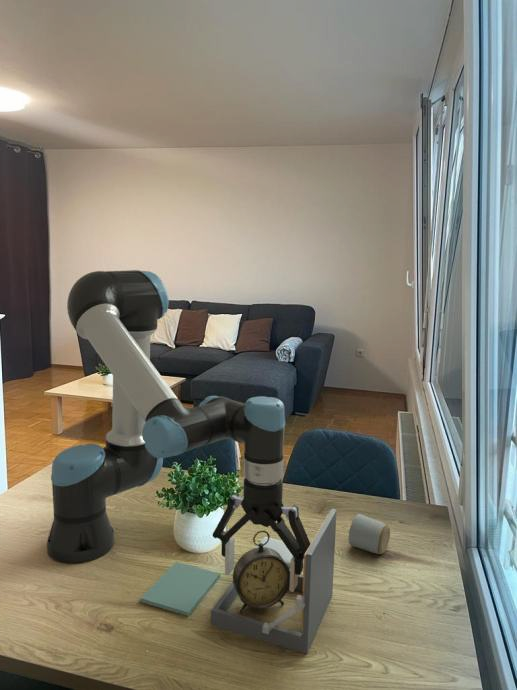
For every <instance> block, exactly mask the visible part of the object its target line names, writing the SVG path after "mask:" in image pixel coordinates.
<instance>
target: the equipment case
mask: <svg viewBox="0 0 517 690" xmlns="http://www.w3.org/2000/svg"><path fill="white" fill-rule="evenodd" d="M337 510H338V509H335V508H331V509H330V511H329V513H328V514H327V515H326V517H325V518H324V520H323V522H322V524H321V526H320V527H319V529H318V531H317V532H316V534H315V535H314V537H313V539H312V541H311V542H310V546H309V548H308V549H307V551H306V553H305V555H304V567H303V570H302V573H301V574H300V575H298V584H297V586H296V588H295V590H298V591H302V594H297V596H296V598H295V605H293V606H292V607H290V608H289V609H288V610H286V611H285V612H284V613H282V614H281V615H279V616H278V617H276V618H275V619H274V620H273V621H271V622H265V621H262V620H259V619H255V618H251V617H247V616H246V615H245V616H244V615H240V614H238V613H233V612H230V611H227V610H228V609H229V608H230V606H231V605H232V604H233V603H234V601H235V599H236V598H237V597H238V593H237V591H236V589H235V586H234V583H233V581H232V582H231V583H230V584H229V585H228V587H227V588H226V590H225V591H224V592H223V594H222V595H221V597H219V599H218V601H217V602H216V603H215V604H214V606H213V607H212V608H211V610H210V626H213V627H217V628H219V629H224V630H226V631H230V632H232V633H236V634H240V635H242V636H247V637H249V638H254V639H255V640H260V641H263V642H266V643H269V644H273V645H276V646H278V647H283V648H285V649H286V648H287V649H289V650H293V651H297V652H300V653H303V654H306V655H308V654H309V651H310V649H311V647H312V644H313V642H314V640H315V636H317V635H316V634H317V633H318V630H319V627H320V625H321V624H322V620H323V619H324V616H325V613H326V611H327V609H328V607H329V604H330V602H331V599H332V597H333V594H334V593H333V590H334V569H335V548H336V532H337V531H336V530H337V514H338V513H337V512H338V511H337ZM289 588H290V586H289ZM298 611H300V612H301V619H300V620H301V623H300V625H301V627H300V628H302V632H299V631H296V630H292V629H289V628H286V627H283V626H279V625H280V624H282V623H283V622H284V621H286V620H287V619H289V618H290V617H292V616H293V615H294V614H295V613H297V612H298Z"/></svg>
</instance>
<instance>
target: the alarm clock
mask: <svg viewBox="0 0 517 690" xmlns="http://www.w3.org/2000/svg"><path fill="white" fill-rule="evenodd" d="M260 533H261V534H262V533H265V534H266V535H267V537H268V540H267V542H266V543H264V544H262V543H260V542H259V543H260V544H259V543H258V544H259V545H258V544H257V543H256V541H255V540H256V537H257V535H259V534H260ZM269 538H271V537H270V533H269V532H268V531H266V530H259V531H257V532H256V533H255V534H254V536H253V537H252V540H253V541H252V542H253V544H255V546H259V547H258V548H256V547H255V548H252V549H249V550H248V551H246V552H245V553H244V554H242V555H241V556H240V557H239V559H238V560H237V561H236V564H234V569H233V570H232V571H233V572H232V582H233V583H234V586H235V589H236V591H237V593H238V595H237V597H238V598H239V599H240V602H242V603H243V605H242V607H241V609H239V612H240V613H241V614H242V613H243V612H244V610H246V607H248V608H252V609H257V610H264V609H268V608H271V607H272V606H274V605H277V604H278V603H280V604H281V606H284V605H285V602H284V601H282V599H283V598H284V597H285V595H286V594H287V592H288V590H289V589H290V587H289V586H290V567H289V566H288V565H287V564H286V563H285V561H284V560H283V558H282V557H281V555H280V554H279V553H278V552H276V551H275V550H273V549H271V548H267V547H263V546H264V545H265V544H267V543H268V541H269Z"/></svg>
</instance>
